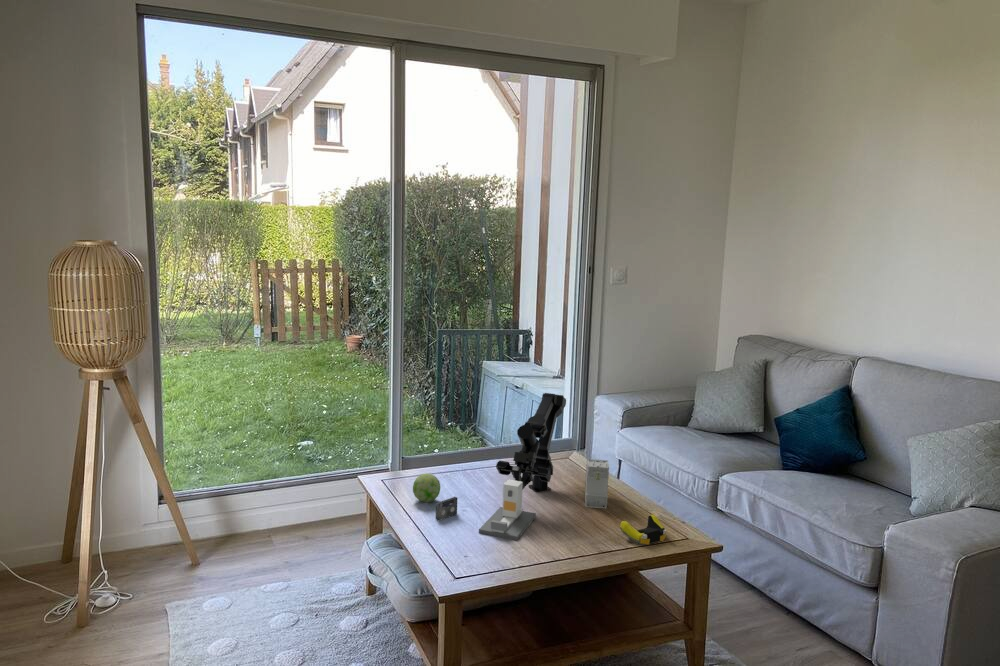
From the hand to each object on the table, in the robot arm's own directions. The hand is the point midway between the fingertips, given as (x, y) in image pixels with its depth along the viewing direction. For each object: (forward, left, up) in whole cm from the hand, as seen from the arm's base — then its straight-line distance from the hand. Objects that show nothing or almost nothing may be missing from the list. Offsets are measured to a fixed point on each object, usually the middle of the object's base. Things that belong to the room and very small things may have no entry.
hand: (517, 493), depth 245 cm
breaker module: (+4, -4, -6) cm, 8 cm away
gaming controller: (+31, +31, -8) cm, 44 cm away
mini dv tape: (-7, -23, -8) cm, 25 cm away
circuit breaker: (-2, +33, -8) cm, 34 cm away
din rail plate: (+6, -6, -8) cm, 12 cm away
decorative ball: (-22, -25, -8) cm, 34 cm away
